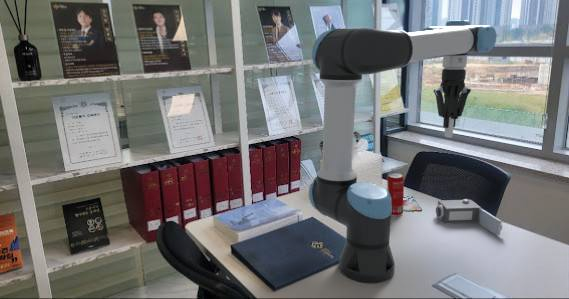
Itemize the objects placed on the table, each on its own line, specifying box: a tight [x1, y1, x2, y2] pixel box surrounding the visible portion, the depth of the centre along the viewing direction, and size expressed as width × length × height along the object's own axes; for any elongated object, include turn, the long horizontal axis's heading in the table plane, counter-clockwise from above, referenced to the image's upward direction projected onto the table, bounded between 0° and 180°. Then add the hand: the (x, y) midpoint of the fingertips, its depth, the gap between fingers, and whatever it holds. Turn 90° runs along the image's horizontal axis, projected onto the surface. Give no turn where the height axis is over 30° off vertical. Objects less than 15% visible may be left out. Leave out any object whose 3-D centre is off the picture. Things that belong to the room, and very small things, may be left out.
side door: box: [477, 207, 503, 236], centre depth 142 cm, size 11×1×5 cm, turn 10°
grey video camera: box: [435, 198, 482, 224], centre depth 151 cm, size 14×8×6 cm, turn 93°
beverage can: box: [386, 172, 405, 217], centre depth 154 cm, size 6×6×15 cm
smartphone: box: [403, 195, 423, 212], centre depth 165 cm, size 8×1×15 cm
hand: (448, 136), depth 150 cm, fingers closed
